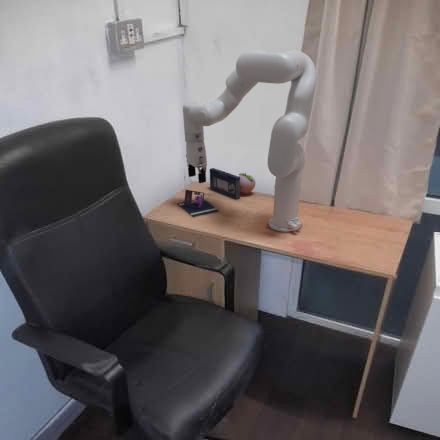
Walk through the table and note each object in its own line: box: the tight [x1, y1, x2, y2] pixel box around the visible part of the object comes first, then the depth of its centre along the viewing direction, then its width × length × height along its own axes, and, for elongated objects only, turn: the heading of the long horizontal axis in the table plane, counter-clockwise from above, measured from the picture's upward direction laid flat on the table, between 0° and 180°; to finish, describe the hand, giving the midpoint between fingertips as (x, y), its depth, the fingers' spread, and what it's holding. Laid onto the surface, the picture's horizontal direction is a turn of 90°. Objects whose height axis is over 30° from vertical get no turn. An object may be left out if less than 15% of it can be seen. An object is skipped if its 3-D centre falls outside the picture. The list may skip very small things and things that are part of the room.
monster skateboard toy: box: [183, 189, 205, 209], centre depth 181 cm, size 7×5×9 cm
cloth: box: [177, 198, 219, 218], centre depth 181 cm, size 16×12×1 cm
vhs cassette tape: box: [209, 167, 241, 200], centre depth 192 cm, size 18×3×10 cm, turn 40°
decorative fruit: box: [238, 172, 256, 195], centre depth 191 cm, size 9×8×10 cm
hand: (197, 179), depth 174 cm, fingers open, 9 cm apart
